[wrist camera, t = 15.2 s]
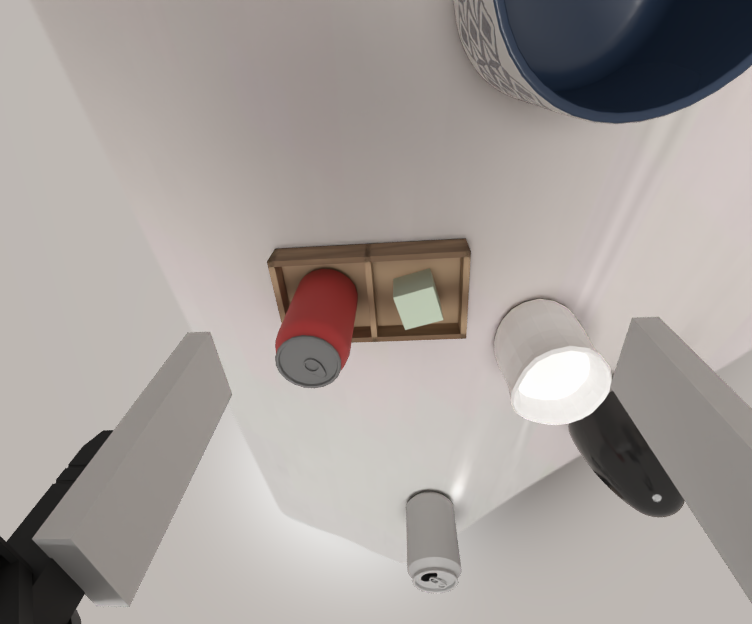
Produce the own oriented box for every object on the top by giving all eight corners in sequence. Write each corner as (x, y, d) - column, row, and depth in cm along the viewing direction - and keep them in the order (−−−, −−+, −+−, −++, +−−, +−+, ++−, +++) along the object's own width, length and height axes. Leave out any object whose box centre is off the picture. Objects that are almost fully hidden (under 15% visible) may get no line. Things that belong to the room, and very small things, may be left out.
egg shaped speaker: (650, 412, 53) (733, 527, 40) (569, 436, 55) (622, 549, 43) (636, 357, 48) (724, 467, 35) (548, 386, 51) (600, 497, 38)
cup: (500, 373, 50) (520, 436, 42) (480, 310, 45) (499, 365, 37) (579, 353, 48) (618, 414, 40) (568, 284, 43) (609, 337, 35)
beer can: (328, 328, 46) (310, 404, 36) (285, 290, 44) (252, 360, 34) (371, 296, 44) (363, 368, 34) (327, 254, 41) (305, 317, 31)
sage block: (393, 278, 42) (393, 297, 39) (430, 268, 42) (433, 286, 38) (404, 309, 44) (405, 330, 41) (439, 299, 44) (443, 320, 40)
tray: (275, 248, 42) (267, 261, 40) (465, 238, 41) (470, 251, 38) (293, 328, 48) (286, 344, 45) (461, 322, 46) (465, 338, 44)
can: (423, 482, 62) (429, 564, 52) (462, 499, 64) (474, 581, 54) (397, 505, 66) (397, 586, 56) (434, 520, 68) (441, 602, 58)
